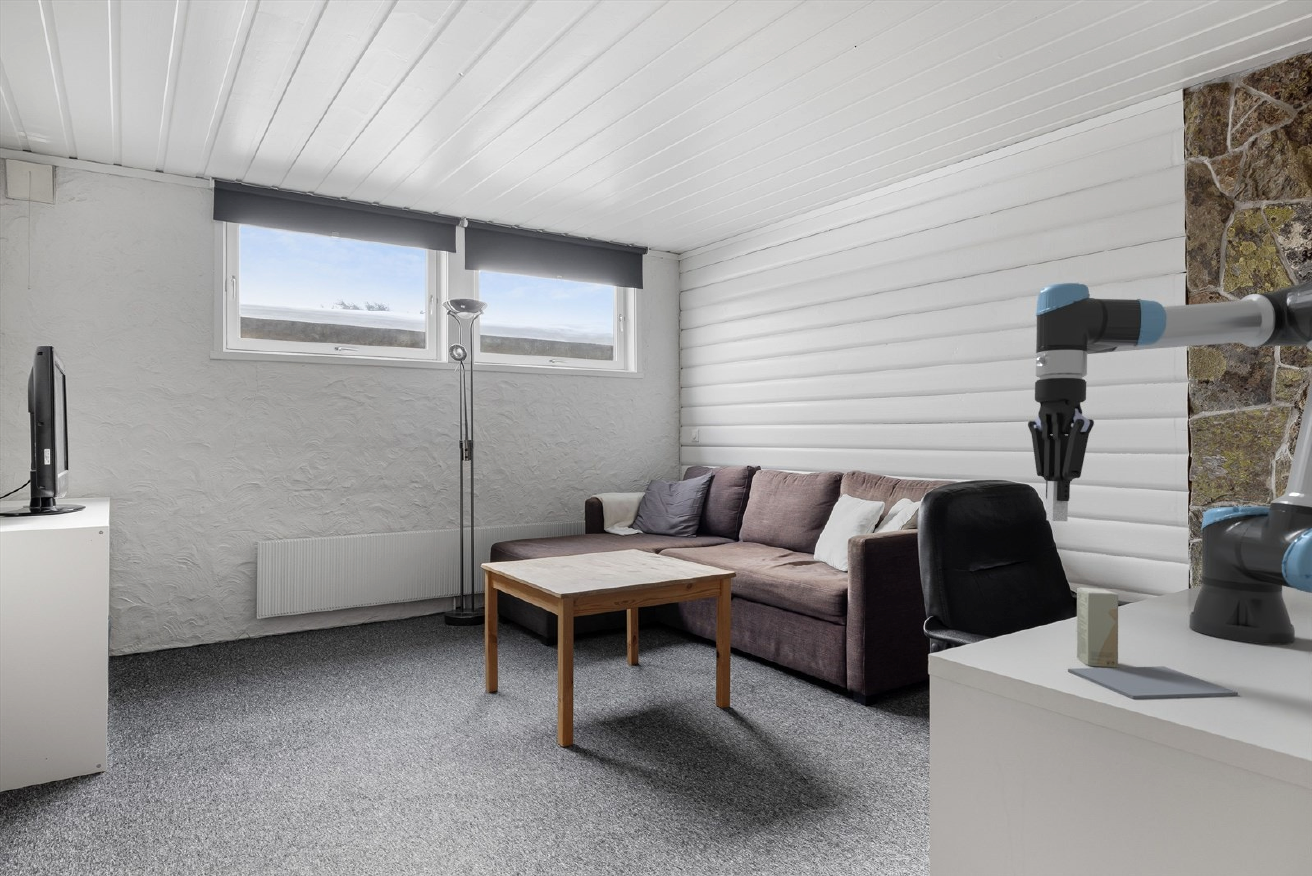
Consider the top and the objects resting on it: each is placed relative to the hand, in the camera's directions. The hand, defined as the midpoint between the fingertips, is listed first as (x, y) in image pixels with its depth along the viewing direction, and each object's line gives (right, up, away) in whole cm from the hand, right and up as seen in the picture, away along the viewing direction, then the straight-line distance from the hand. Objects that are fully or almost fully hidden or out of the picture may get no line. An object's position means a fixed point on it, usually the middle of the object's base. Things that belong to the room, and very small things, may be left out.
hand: (1056, 520), depth 124 cm
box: (+1, -21, -9) cm, 23 cm away
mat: (+3, -21, -19) cm, 28 cm away
